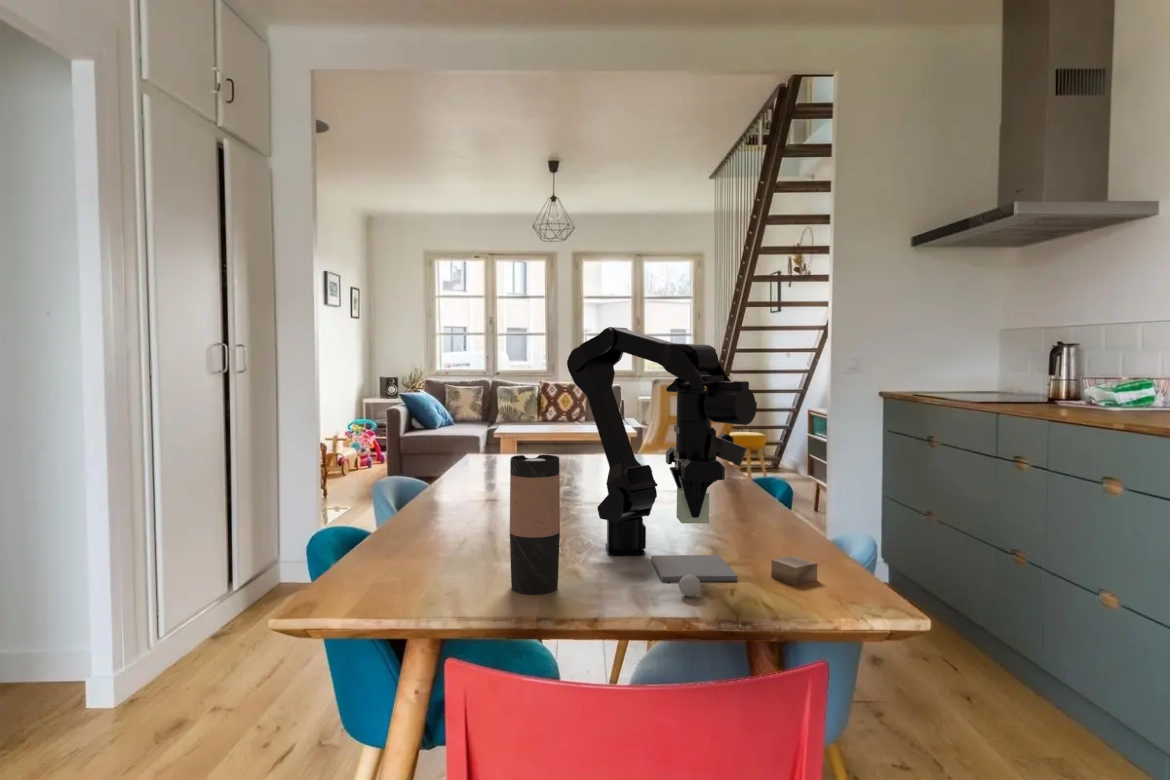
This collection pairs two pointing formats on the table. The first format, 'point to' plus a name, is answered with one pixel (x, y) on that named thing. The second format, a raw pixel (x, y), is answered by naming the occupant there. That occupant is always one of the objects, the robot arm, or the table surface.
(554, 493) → the travel mug
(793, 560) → the walnut block
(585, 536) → the table surface
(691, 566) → the plate
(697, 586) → the grey ball
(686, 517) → the sage block
